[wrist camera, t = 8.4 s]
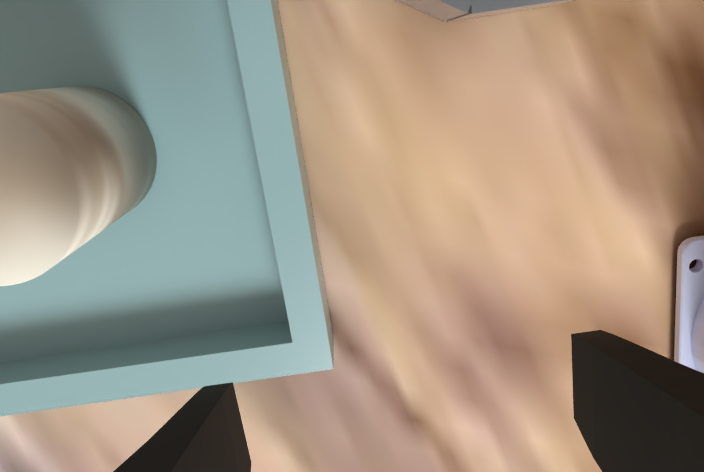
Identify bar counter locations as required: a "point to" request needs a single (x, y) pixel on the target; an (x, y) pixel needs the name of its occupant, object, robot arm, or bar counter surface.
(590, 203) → the bar counter surface
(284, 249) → the tray
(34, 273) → the cylinder
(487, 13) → the grey rounded shallow piece
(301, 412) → the bar counter surface
